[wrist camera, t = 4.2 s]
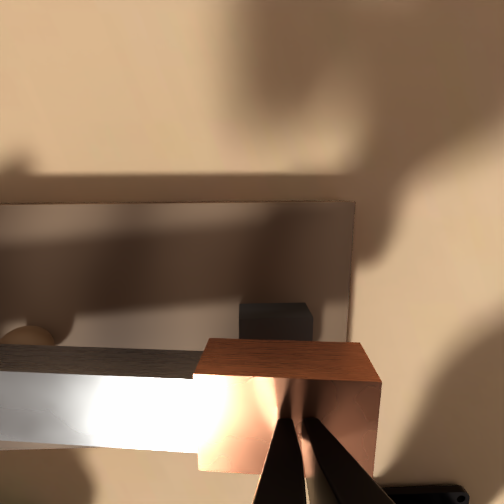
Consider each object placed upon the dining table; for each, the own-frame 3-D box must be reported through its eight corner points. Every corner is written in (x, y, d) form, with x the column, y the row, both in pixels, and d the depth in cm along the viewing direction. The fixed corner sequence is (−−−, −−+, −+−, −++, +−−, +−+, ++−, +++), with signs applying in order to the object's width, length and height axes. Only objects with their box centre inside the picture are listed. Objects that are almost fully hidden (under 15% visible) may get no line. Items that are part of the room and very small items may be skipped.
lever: (358, 339, 10) (384, 387, 7) (351, 421, 10) (374, 489, 8) (-137, 324, 11) (-247, 360, 9) (-114, 397, 12) (-211, 448, 9)
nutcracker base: (343, 200, 14) (428, 208, 7) (331, 417, 16) (387, 563, 10) (-90, 204, 13) (-398, 217, 7) (-34, 427, 16) (-223, 588, 9)
